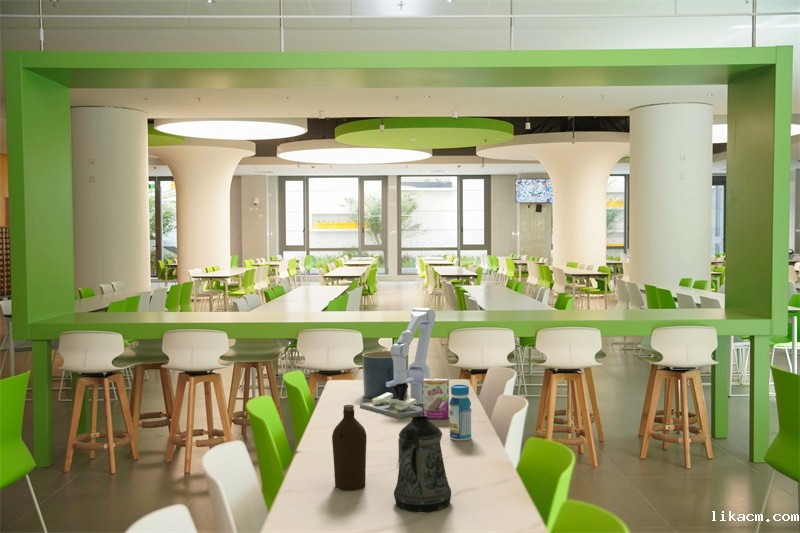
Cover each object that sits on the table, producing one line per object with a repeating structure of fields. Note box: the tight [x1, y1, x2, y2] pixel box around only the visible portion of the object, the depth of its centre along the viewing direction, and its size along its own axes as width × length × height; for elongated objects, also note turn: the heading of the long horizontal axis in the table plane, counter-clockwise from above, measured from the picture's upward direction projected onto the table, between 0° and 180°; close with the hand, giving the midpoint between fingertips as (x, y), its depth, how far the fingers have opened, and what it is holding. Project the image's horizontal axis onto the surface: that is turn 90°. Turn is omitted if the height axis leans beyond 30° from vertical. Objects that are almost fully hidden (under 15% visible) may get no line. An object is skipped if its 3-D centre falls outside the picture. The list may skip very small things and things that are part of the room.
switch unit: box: [359, 401, 423, 420], centre depth 348 cm, size 16×30×3 cm, turn 38°
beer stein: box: [393, 415, 452, 513], centre depth 223 cm, size 16×19×25 cm
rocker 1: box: [371, 392, 393, 404], centre depth 354 cm, size 9×4×2 cm, turn 128°
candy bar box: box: [422, 378, 450, 420], centre depth 331 cm, size 11×5×16 cm, turn 84°
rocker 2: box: [383, 397, 403, 404], centre depth 348 cm, size 9×4×2 cm, turn 128°
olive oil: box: [331, 404, 368, 491], centre depth 241 cm, size 11×11×25 cm
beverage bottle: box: [449, 384, 472, 442], centre depth 297 cm, size 8×8×20 cm
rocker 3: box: [395, 397, 417, 410], centre depth 341 cm, size 9×4×2 cm, turn 128°
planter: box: [361, 350, 409, 400], centre depth 381 cm, size 22×22×20 cm
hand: (400, 400), depth 350 cm, fingers closed, pressing on rocker 2
